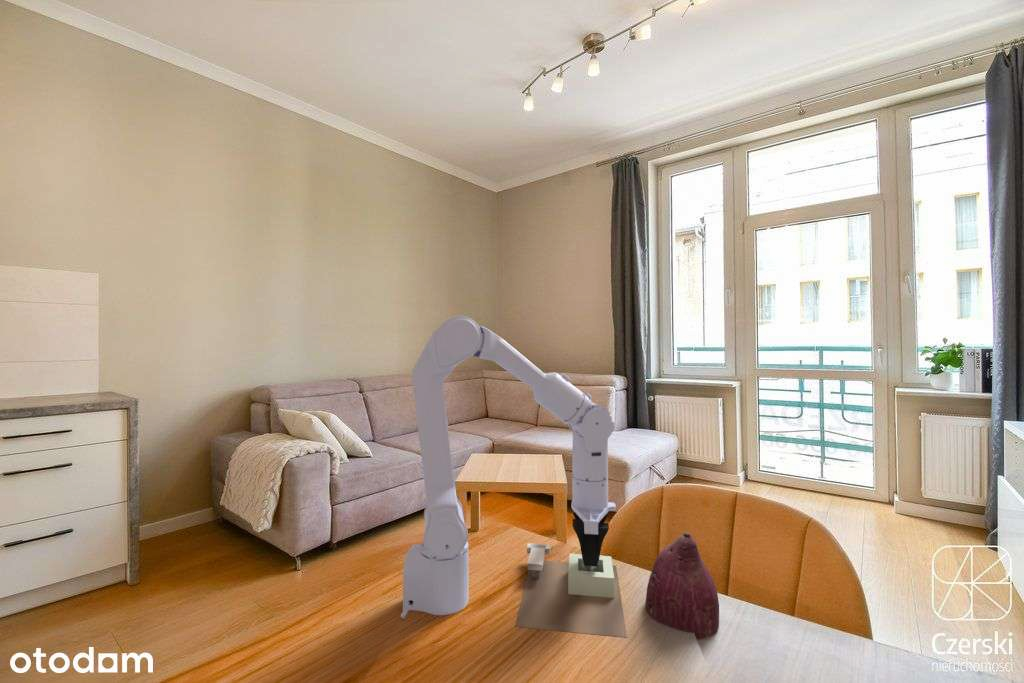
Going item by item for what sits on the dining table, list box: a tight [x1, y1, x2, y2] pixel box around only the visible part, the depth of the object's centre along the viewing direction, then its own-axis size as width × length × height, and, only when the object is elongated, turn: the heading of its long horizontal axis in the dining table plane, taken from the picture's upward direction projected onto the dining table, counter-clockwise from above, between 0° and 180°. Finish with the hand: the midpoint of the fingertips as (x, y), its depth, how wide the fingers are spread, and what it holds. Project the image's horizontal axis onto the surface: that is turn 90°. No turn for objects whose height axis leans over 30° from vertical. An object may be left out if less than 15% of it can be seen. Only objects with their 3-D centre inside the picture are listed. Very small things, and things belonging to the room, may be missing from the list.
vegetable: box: [645, 531, 720, 641], centre depth 63 cm, size 10×10×15 cm
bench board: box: [514, 542, 628, 639], centre depth 69 cm, size 16×19×4 cm
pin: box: [583, 562, 599, 572], centre depth 71 cm, size 3×3×7 cm
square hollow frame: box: [568, 553, 614, 598], centre depth 71 cm, size 7×7×3 cm
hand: (590, 560), depth 71 cm, fingers closed on pin, 2 cm apart
